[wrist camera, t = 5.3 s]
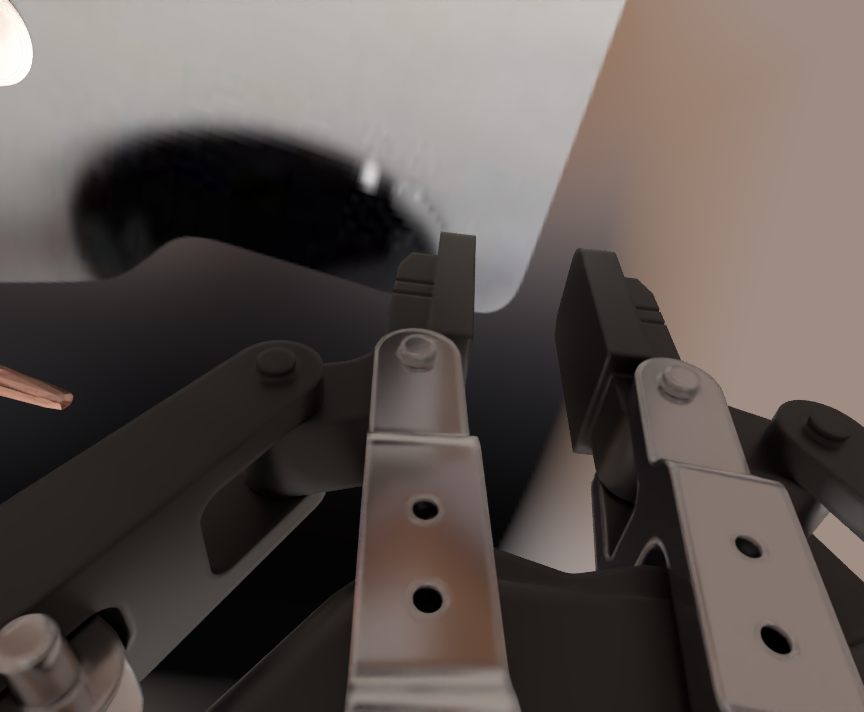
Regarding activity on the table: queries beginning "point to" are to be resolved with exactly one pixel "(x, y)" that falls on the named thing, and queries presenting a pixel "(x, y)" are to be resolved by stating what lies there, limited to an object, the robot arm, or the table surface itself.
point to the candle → (13, 46)
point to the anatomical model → (32, 389)
